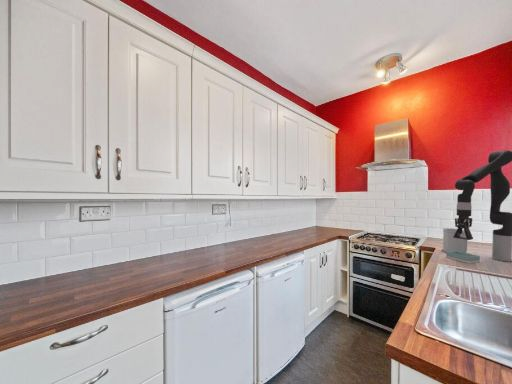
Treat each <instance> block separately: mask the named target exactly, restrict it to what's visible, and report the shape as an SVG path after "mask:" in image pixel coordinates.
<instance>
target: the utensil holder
mask: <svg viewBox="0 0 512 384" xmlns="http://www.w3.org/2000/svg"><path fill="white" fill-rule="evenodd" d="M457 229H458V228H454V227H453V228H452V227H445V228H444V227H443V228H442V230H443V231H442V234H443V235H442V251H443V252H445V253H446V252H448V251H460V252H465V253H468V251H467V250H468V241H469V240H466V239H459V238H453V237H454V235H455V233H456V231H457ZM460 237H465V238H466V235H465V232H464V229H462V234H461V235H460Z"/></svg>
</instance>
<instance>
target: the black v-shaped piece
mask: <svg viewBox="0 0 512 384" xmlns="http://www.w3.org/2000/svg"><path fill="white" fill-rule="evenodd" d="M460 222H461V221H460ZM467 224H468V223H467V222H464V225H463V227H462V230H464V232H465V235H466V238H465V237H460V235H461V234H460V233H458V228H456V229H457V231H456V233H455V235H454V237H453V238H459V239H466V240H468V241H471V240H474V237H473V235H472V232H471V230H470V228H469V227H468V226H467ZM460 226H461V225H460Z"/></svg>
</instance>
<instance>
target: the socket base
mask: <svg viewBox="0 0 512 384" xmlns="http://www.w3.org/2000/svg"><path fill="white" fill-rule="evenodd" d="M445 254H446V255H445V257H446V258H448V259H452V260H455V261H459V262H464V263H467V264H473V263H480V258H481V257H480V256H481V255H478V254H473V253H468V252H467V253H465V252H460V251H448V252H445Z"/></svg>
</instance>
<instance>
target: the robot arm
mask: <svg viewBox="0 0 512 384" xmlns="http://www.w3.org/2000/svg"><path fill="white" fill-rule="evenodd" d="M487 161H488V163H487V164H485V165H482V166H480V167H478V168H476V169H475V170H473V171H472V172H471V173H469V174H468V175H465V176H464V177H462V178H460V179H458V180H457V181H455V184H454V187H455V189H457V190H458V191H462V192H461V193H459V194H457V202H456V203H457V204H456V216H458V217H456V218H454V224H455V225H454V226H455V227H456V229H458V233H460V234H462V230H463V229H462V227H463V225H464V222H467V223H468V224H467V226H468V227H469V229H470V228H472V225H473V218H472V195H473V194H474V190H475V188H476V186H475V185H476V184H477V183H479V182H481V181H482V180H483V179H485V178H486V177H487V176H489V177H490V178H489V179H490V210H489V221H490V223H491V224H492V225H497V226H499V225H500V226H502V227H501V228H498V229H493V230H492V243H491V244H492V247H491V250H492V251H491V258H492V259H493V260H496V261H500V262H512V212H510V211H501V206H502V204H503V202H504V201H505V200H506V199H507V198H508V196H509V195H510V193H511V186H510V185H511V183H510V181H509V180H508V179H507V177H506V176H505V175H504V173H503V171H502V168H503V167H504V166H507V165H508V164H509V163H511V162H512V151H511V150H498V151H492V152H490V153H489V155H488V158H487ZM475 183H476V184H475ZM460 221H461V222H460ZM460 225H461V226H460Z"/></svg>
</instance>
